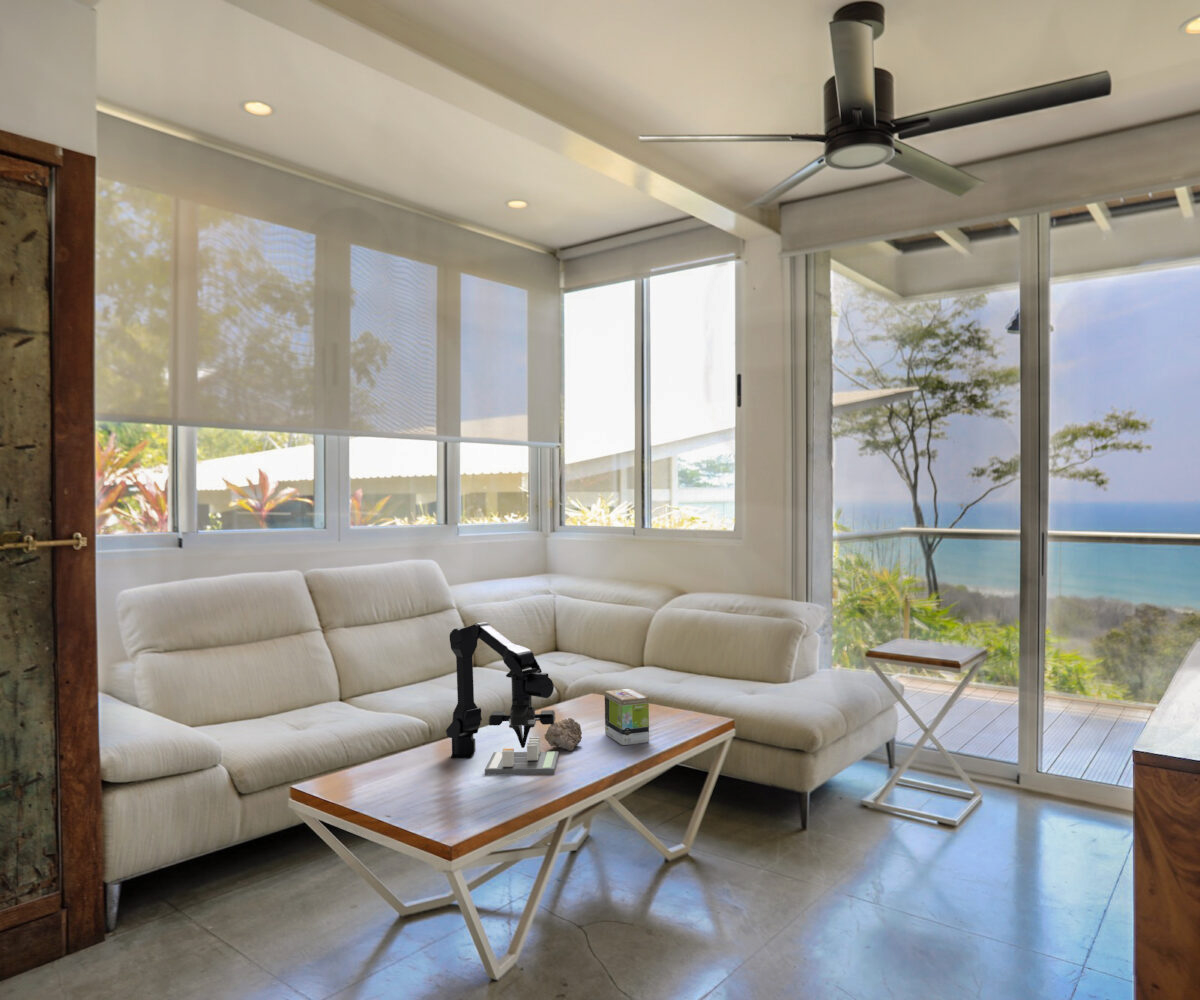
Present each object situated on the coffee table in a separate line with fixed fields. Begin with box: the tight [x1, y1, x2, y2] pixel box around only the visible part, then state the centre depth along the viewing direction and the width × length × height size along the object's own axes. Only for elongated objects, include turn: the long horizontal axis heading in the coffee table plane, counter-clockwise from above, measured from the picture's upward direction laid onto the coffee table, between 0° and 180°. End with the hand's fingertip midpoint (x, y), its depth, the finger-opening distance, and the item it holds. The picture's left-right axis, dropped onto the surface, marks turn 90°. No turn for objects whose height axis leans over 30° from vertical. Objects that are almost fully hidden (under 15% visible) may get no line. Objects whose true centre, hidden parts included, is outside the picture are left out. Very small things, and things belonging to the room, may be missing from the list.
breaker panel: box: [484, 751, 560, 776], centre depth 244 cm, size 20×16×2 cm
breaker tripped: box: [501, 747, 515, 767], centre depth 239 cm, size 3×3×5 cm
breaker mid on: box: [526, 741, 538, 760], centre depth 244 cm, size 3×3×5 cm
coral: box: [544, 717, 583, 752], centre depth 261 cm, size 14×9×10 cm, turn 141°
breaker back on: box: [528, 736, 541, 754], centre depth 249 cm, size 3×3×5 cm
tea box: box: [604, 688, 650, 746], centre depth 269 cm, size 15×10×15 cm
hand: (523, 747), depth 238 cm, fingers closed
